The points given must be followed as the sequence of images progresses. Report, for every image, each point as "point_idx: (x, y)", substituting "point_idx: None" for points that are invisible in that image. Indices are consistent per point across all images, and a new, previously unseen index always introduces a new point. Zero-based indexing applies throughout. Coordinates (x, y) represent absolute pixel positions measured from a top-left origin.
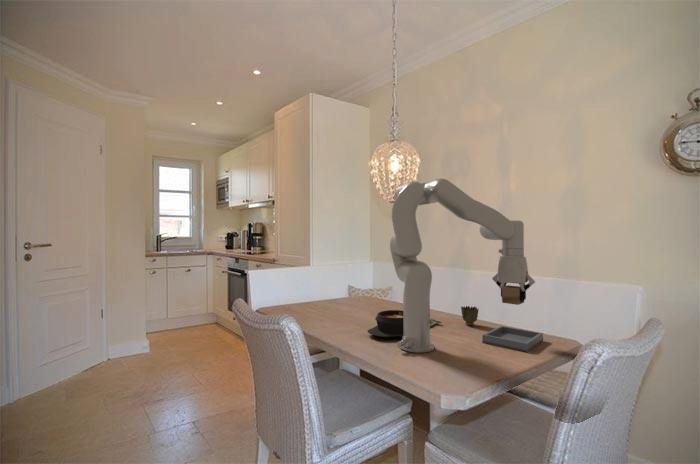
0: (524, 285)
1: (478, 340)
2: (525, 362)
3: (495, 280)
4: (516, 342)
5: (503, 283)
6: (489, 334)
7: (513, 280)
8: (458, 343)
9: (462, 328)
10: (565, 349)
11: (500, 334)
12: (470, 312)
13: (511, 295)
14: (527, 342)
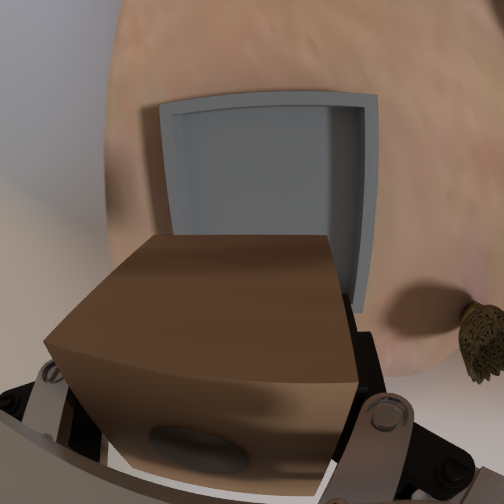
0: (73, 448)
1: (394, 122)
2: (143, 12)
3: (488, 491)
4: (204, 98)
5: (347, 485)
6: (363, 148)
7: (33, 488)
8: (427, 35)
9: (486, 256)
10: (113, 244)
11: (344, 249)
12: (493, 326)
13: (190, 282)
14: (165, 124)
